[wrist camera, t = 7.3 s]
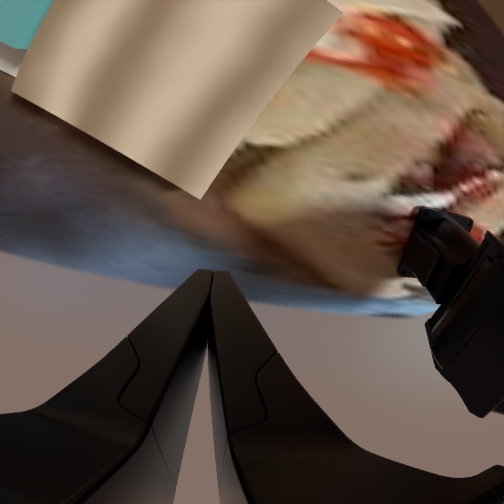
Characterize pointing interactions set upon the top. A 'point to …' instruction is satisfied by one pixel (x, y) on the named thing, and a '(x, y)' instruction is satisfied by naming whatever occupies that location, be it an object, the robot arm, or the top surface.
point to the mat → (11, 58)
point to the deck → (169, 74)
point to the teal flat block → (21, 21)
